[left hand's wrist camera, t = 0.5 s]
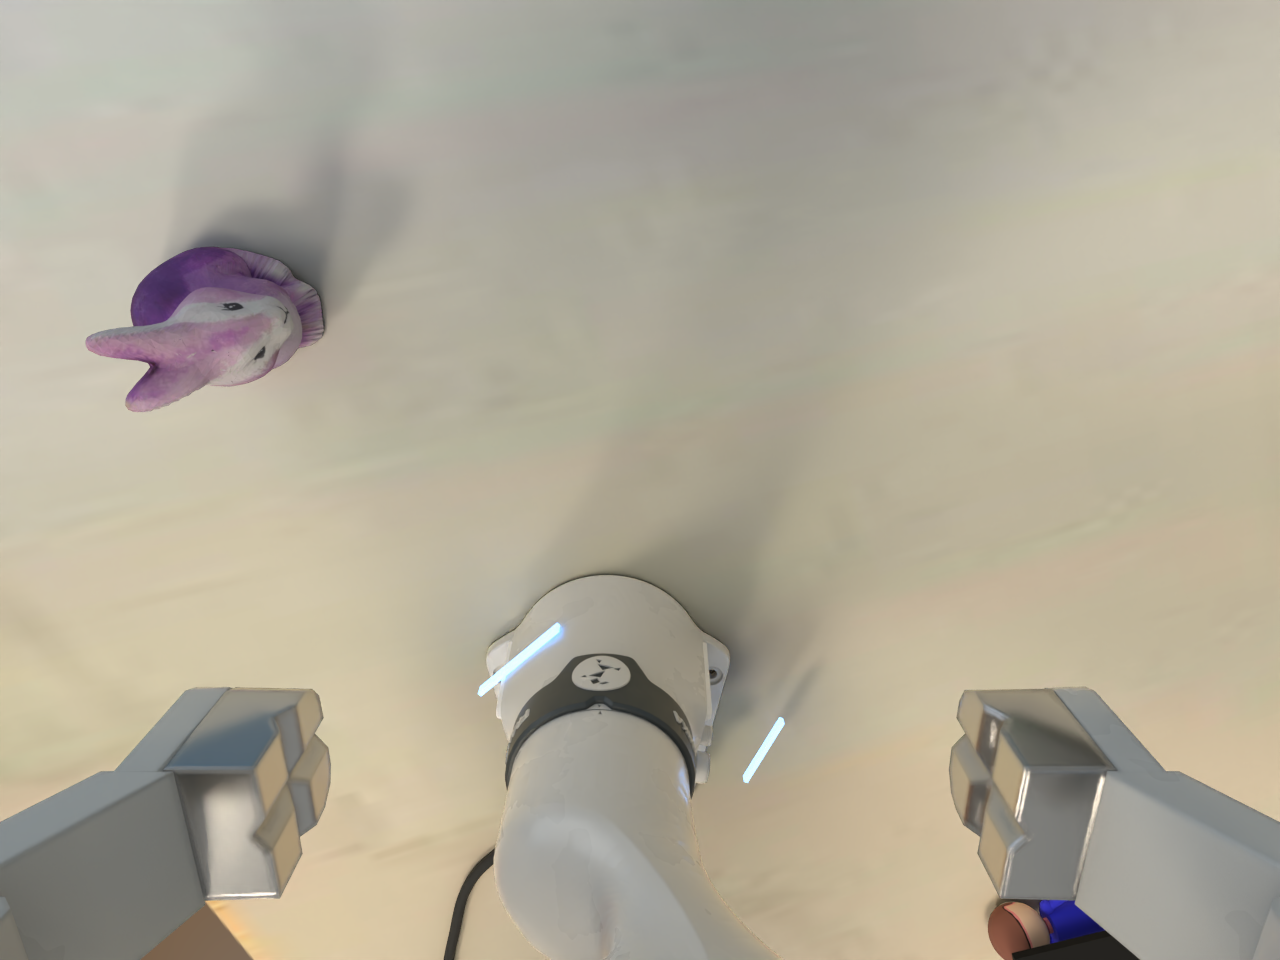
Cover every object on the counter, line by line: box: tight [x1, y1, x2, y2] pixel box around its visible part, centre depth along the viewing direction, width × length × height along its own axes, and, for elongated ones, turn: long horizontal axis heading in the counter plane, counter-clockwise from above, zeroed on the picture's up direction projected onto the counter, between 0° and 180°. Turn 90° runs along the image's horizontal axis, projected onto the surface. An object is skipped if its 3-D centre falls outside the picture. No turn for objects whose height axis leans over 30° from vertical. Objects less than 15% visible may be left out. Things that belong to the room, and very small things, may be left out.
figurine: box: [86, 247, 324, 412], centre depth 47 cm, size 9×10×15 cm
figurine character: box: [988, 900, 1140, 960], centre depth 70 cm, size 7×8×15 cm
